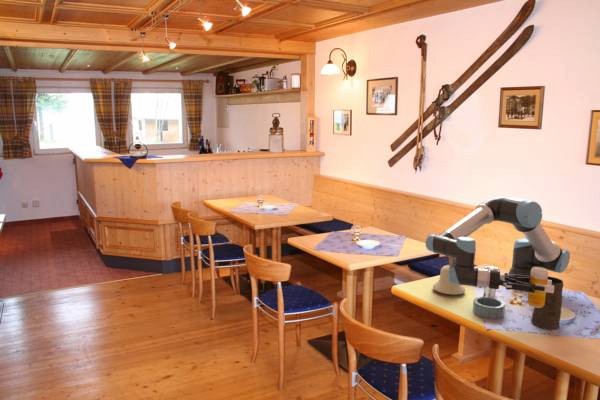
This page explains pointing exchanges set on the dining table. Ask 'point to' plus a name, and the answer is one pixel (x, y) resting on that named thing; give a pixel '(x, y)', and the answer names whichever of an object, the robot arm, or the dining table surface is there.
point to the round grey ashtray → (488, 307)
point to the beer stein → (550, 308)
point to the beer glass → (488, 291)
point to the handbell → (447, 282)
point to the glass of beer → (537, 277)
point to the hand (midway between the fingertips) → (552, 286)
